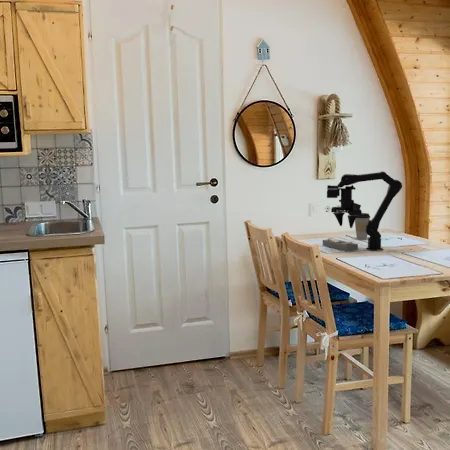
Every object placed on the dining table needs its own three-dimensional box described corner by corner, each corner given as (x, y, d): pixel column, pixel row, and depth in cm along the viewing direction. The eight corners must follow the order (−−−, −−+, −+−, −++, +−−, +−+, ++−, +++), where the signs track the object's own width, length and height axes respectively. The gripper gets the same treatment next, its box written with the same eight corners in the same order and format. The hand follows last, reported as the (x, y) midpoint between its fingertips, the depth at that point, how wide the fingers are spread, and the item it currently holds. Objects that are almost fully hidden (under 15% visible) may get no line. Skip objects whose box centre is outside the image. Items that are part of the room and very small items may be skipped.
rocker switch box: (357, 249, 279) (357, 243, 278) (346, 251, 275) (346, 245, 275) (333, 243, 296) (333, 238, 296) (322, 245, 293) (322, 239, 292)
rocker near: (352, 243, 279) (352, 241, 279) (347, 244, 277) (346, 242, 277) (344, 244, 285) (344, 242, 285) (339, 244, 283) (339, 242, 283)
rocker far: (340, 243, 288) (340, 241, 288) (334, 243, 286) (335, 241, 286) (332, 239, 293) (333, 237, 293) (327, 239, 292) (327, 237, 291)
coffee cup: (366, 240, 304) (366, 215, 302) (350, 239, 310) (351, 214, 308) (372, 238, 312) (372, 213, 309) (357, 236, 317) (357, 212, 315)
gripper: (370, 198, 273) (369, 227, 275) (347, 195, 290) (346, 223, 292) (353, 199, 268) (352, 229, 270) (330, 197, 285) (330, 225, 287)
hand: (346, 226), depth 280 cm, fingers open, 8 cm apart
